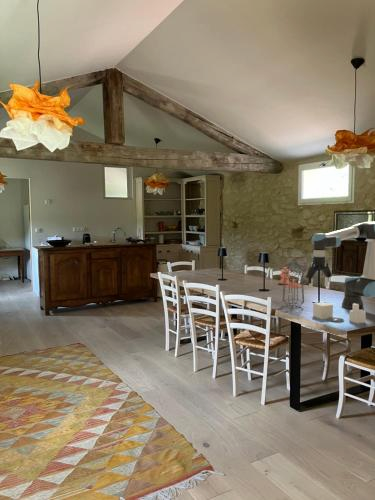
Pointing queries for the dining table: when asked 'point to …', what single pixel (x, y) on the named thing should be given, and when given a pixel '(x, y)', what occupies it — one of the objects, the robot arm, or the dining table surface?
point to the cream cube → (322, 310)
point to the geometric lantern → (293, 280)
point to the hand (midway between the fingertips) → (318, 287)
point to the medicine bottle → (357, 314)
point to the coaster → (335, 319)
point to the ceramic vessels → (288, 279)
